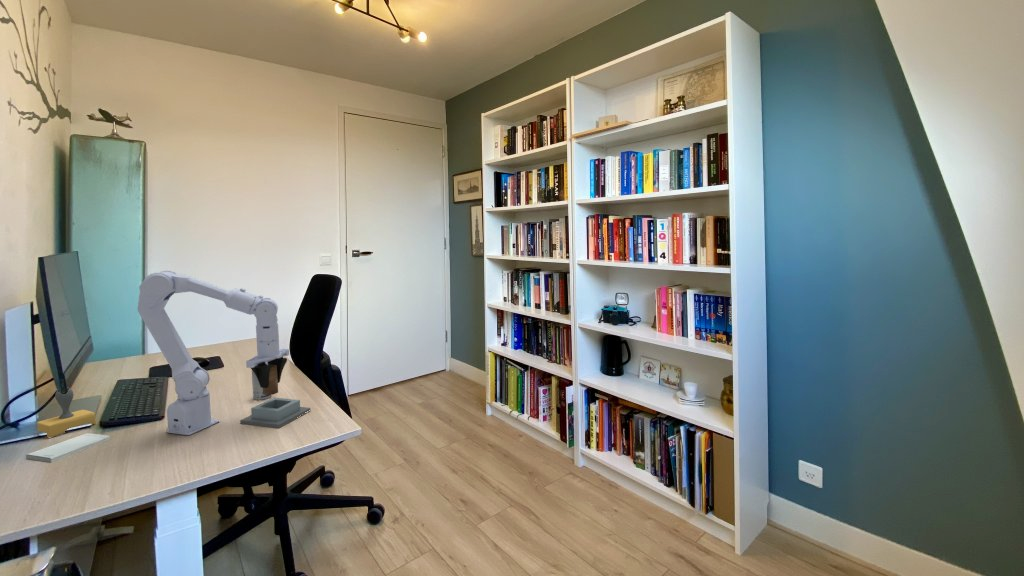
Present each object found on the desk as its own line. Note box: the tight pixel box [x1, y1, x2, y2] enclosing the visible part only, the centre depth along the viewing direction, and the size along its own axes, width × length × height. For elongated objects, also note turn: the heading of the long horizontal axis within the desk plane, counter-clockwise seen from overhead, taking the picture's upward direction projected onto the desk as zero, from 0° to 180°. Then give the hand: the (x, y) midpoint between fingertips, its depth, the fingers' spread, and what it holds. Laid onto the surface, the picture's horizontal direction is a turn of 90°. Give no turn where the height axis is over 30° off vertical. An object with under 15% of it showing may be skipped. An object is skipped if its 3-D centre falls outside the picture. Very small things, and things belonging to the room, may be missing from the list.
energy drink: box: [251, 362, 272, 401], centre depth 145 cm, size 5×5×12 cm
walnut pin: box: [263, 365, 279, 396], centre depth 129 cm, size 4×4×8 cm
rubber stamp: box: [36, 387, 97, 438], centre depth 119 cm, size 10×6×12 cm, turn 159°
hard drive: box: [25, 432, 111, 463], centre depth 109 cm, size 2×8×12 cm
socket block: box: [239, 397, 311, 429], centre depth 129 cm, size 13×13×4 cm
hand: (270, 384), depth 129 cm, fingers closed on walnut pin, 4 cm apart
